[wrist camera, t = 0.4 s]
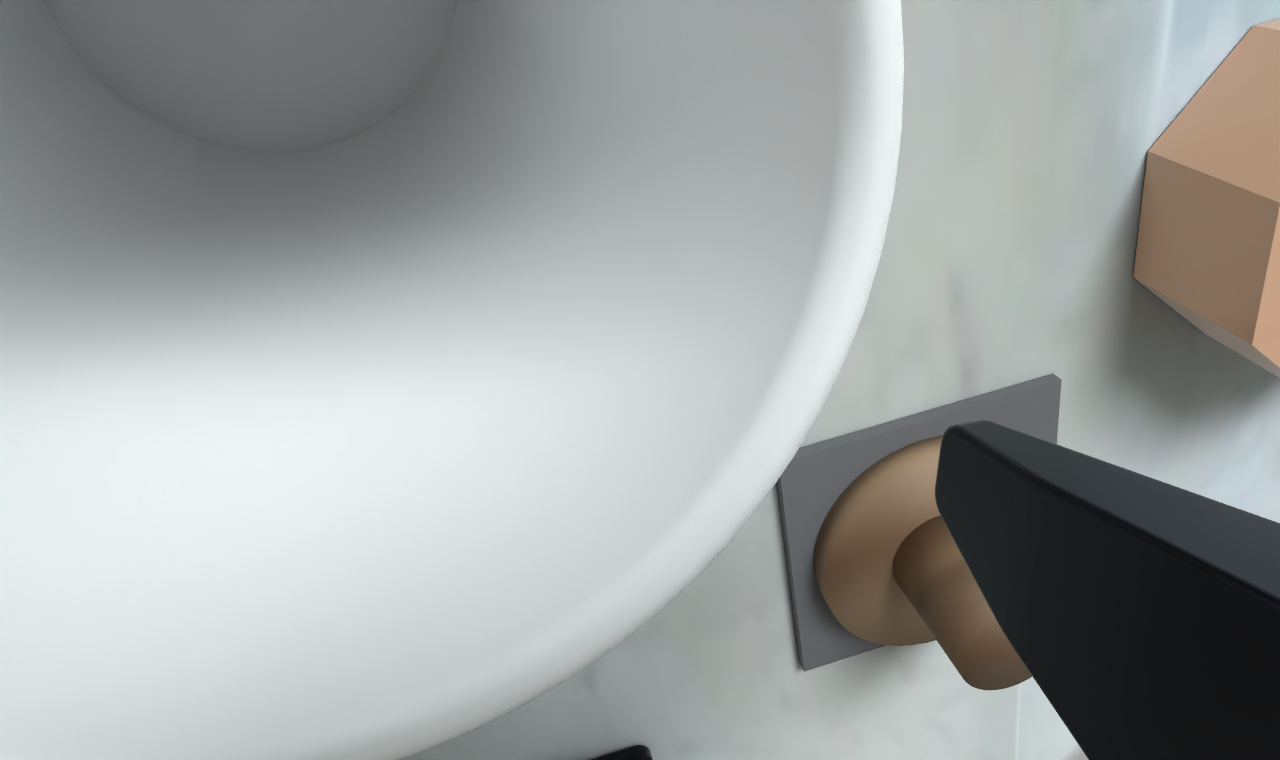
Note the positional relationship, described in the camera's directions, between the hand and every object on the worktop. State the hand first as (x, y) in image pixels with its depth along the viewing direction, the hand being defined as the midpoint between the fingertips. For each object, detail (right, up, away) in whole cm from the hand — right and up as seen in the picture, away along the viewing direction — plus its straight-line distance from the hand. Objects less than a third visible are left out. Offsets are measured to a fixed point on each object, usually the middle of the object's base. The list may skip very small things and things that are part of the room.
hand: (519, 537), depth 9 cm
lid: (+10, -3, +21) cm, 23 cm away
